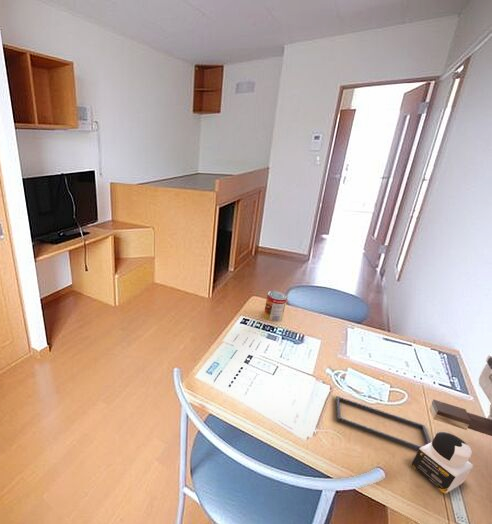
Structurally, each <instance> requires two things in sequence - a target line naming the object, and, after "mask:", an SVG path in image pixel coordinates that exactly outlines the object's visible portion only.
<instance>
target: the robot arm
mask: <svg viewBox="0 0 492 524" xmlns="http://www.w3.org/2000/svg"><path fill="white" fill-rule="evenodd" d="M485 361H486V364H485V365H484V367H483V368H482V370H481V373H480V374H479V377H478V385H479V387H480V388H481V390H482V391H483V393H484V395H485V397H486V398H487V399H488V402H490V405H489V415H488V416H487V417H486V418H487V419H491V420H492V354H489V355H488V356H487V357H486V360H485Z"/></svg>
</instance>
